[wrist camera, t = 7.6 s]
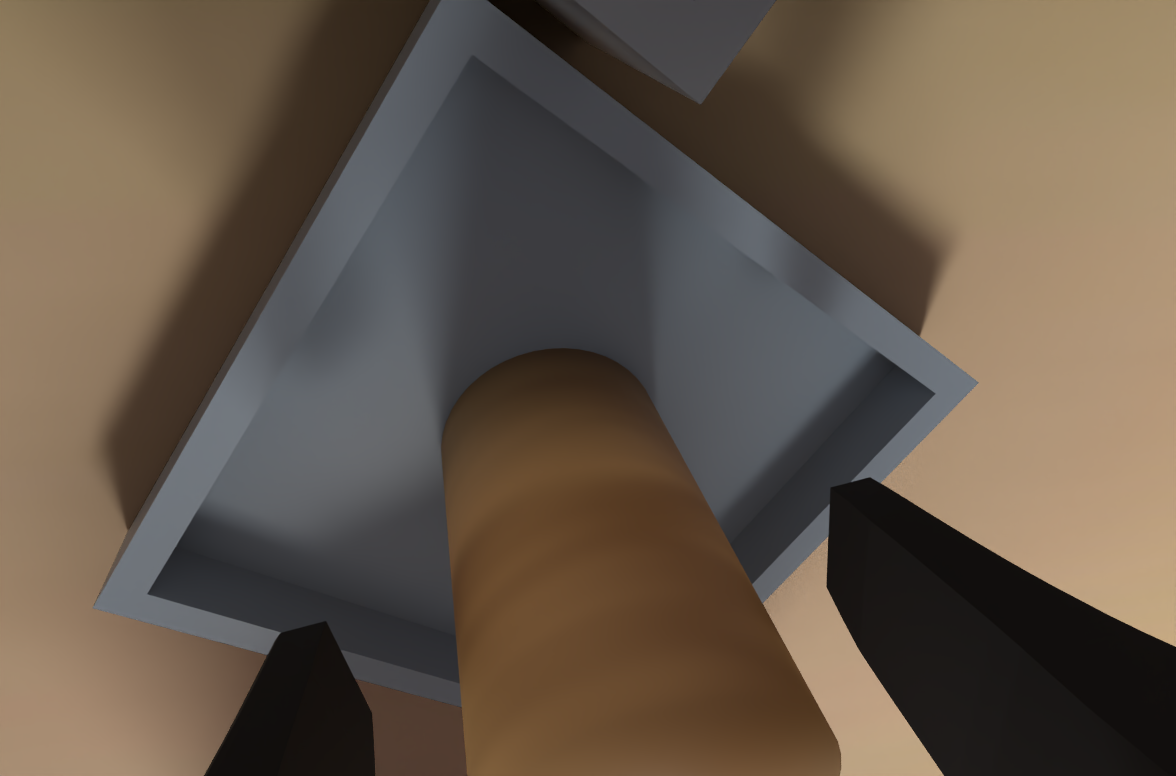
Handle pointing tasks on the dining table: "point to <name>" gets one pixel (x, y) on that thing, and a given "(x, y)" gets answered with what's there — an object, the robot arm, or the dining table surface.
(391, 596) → the tray
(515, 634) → the dowel
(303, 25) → the dining table surface
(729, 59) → the grey square box
